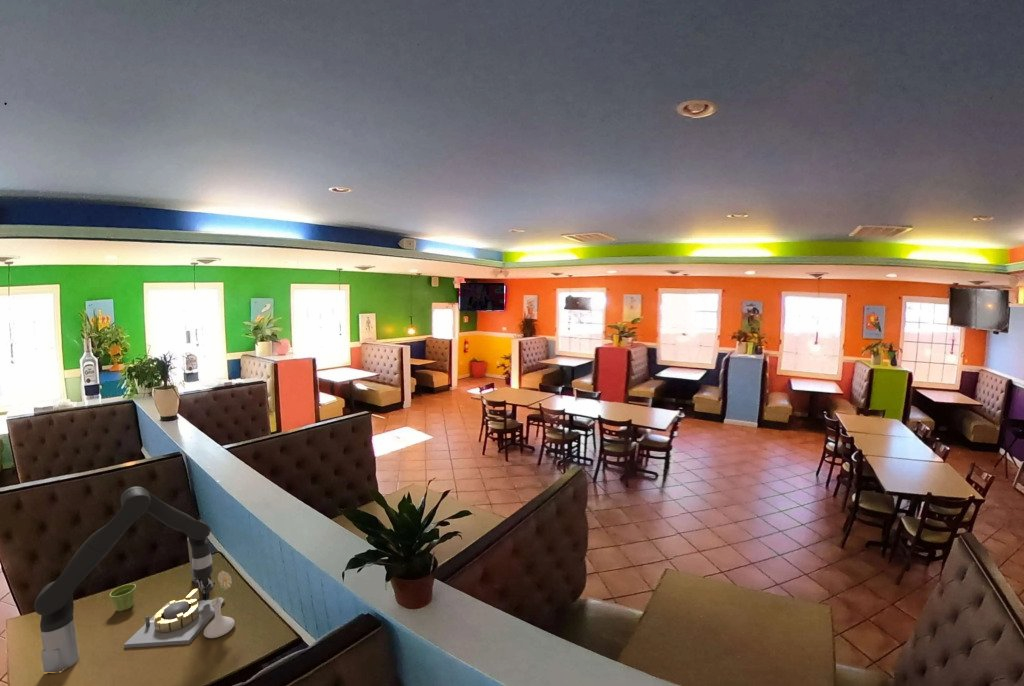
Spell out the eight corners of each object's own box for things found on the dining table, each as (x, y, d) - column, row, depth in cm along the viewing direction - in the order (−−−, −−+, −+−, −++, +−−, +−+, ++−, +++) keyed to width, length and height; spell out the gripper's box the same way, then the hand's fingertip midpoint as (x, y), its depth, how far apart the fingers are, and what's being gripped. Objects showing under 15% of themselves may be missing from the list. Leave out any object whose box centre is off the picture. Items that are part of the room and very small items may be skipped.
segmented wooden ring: (184, 630, 196) (182, 619, 195) (146, 633, 195) (144, 621, 194) (214, 597, 217) (213, 587, 217) (180, 599, 216) (179, 589, 216)
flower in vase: (220, 642, 191) (214, 586, 188) (197, 639, 193) (191, 583, 191) (244, 621, 204) (239, 567, 201) (222, 618, 206) (217, 565, 203)
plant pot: (123, 615, 210) (121, 597, 209) (106, 613, 212) (104, 595, 211) (143, 601, 219) (141, 584, 218) (126, 600, 221) (124, 583, 220)
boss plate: (189, 643, 191) (187, 626, 190) (123, 648, 190) (121, 631, 189) (224, 602, 217) (223, 587, 216) (166, 605, 215) (165, 590, 215)
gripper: (219, 563, 213) (223, 598, 214) (202, 556, 218) (205, 590, 220) (202, 572, 206) (206, 608, 208) (185, 565, 212) (189, 600, 213)
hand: (206, 599), depth 214 cm, fingers closed
